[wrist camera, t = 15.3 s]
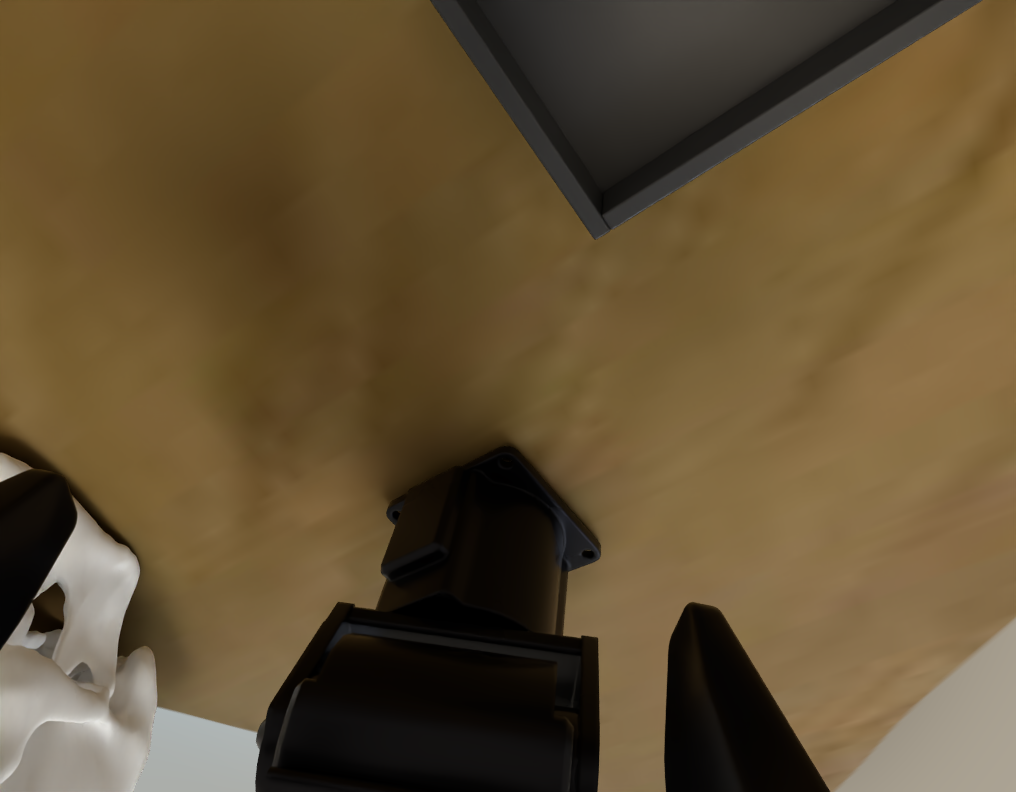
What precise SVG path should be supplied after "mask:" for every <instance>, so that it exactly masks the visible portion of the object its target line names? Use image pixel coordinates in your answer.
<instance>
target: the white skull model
mask: <svg viewBox="0 0 1016 792" xmlns="http://www.w3.org/2000/svg"><path fill="white" fill-rule="evenodd" d="M30 469H33V468H31V467H30V466H28V465H27V464H26V463H24V462H22V461H20V460H17V459H15V458H13V457H11V456H9V455H7V454H4V453H0V482H1V481H4V480H6V479H8V478H10V477H13V476H15V475H17V474H19V473H21V472H24V471H26V470H30ZM72 498H73V500H74V503H75V506H76V509H77V513H78V518H77V523H76V526H75V529H74V531H73V533H72V534H71V536H70V538H69V539H68V541H67V543H66V545H65V546H64V548H63V550H62V552H61V553H60V555H59V557H58V558H57V560H56V562H55V564H54V565H53V567H52V569H51V571H50V572H49V574H48V576H47V577H46V579H45V581H44V583H43V584H42V586H41V588H40V590H39V591H38V593H37V595H36V596H35V598H37V597H38V596H39V595H40V593H43V592H44V591H46V590H47V589H48V588H49V587H50V586H52V585H53V584H54V583H57V584H58V585H59V586H60V587H61V589H62V590H63V592H64V593H65V603H64V607H63V612H64V627H63V630H61V629H57V630H53V631H51V632H45V633H40V632H38V631H28V630H29V628H30V625H31V623H32V620H33V617H34V614H35V612H34V607H33V604H32V603H31V605H30V607H29V609H28V610H27V612H26V613H25V615H24V617H23V618H22V620H21V621H20V623H19V624H18V626H17V627H16V629H15V630H14V632H13V633H12V635H11V636H10V638H9V639H8V641H7V642H6V643H5V645H4V646H3V647H2V649H1V650H0V792H133V791H134V788H135V786H136V784H137V781H138V779H139V777H140V775H141V773H142V770H143V768H144V766H145V763H146V761H147V758H148V755H149V751H150V744H151V733H152V727H153V722H154V715H155V711H156V708H157V685H156V666H155V659H154V654H153V652H152V650H151V649H150V648H148V647H147V646H142V647H140V648H138V649H136V650H134V651H133V652H132V653H131V654H130V655H129V657H124V656H119V657H117V651H118V641H119V635H120V630H121V626H122V623H123V618H124V615H125V612H126V609H127V607H128V604H129V602H130V599H131V597H132V594H133V592H134V590H135V588H136V585H137V582H138V579H139V575H140V567H139V563H138V560H137V557H136V555H134V554H133V553H132V552H131V551H130V549H129V548H128V547H127V546H125V545H123V544H119V543H117V542H116V541H115V540H114V539H113V538H112V537H111V536H110V535H108V534H107V533H105V532H104V531H103V530H102V529H101V528H100V526H99V525H98V524H97V522H96V521H95V520H94V519H93V518H92V517H91V516H90V515H89V513H88V512H87V511H86V510H85V509H84V508H83V507H82V506H81V504H80V503H79V502H78V501H77V500H76V499H75V498H74V497H73V496H72ZM35 598H34V599H35Z"/></svg>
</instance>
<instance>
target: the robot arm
mask: <svg viewBox="0 0 1016 792" xmlns="http://www.w3.org/2000/svg"><path fill="white" fill-rule="evenodd" d="M503 458H508V459H510V460H512V461H509V462H508V461H504V460H503ZM398 511H400V512H401V513H400V512H398ZM386 515H387V517H388V519H389V520H390V521H391V522H392V523H393V524H394V525H395V529H394V532H393V534H392V537H391V540H390V542H389V545H388V548H387V550H386V553H385V556H384V558H383V561H382V564H381V573H382V574H383V575H384V576H385V577H386V578H387V579H386V581H385V584H384V587H383V590H382V593H381V596H380V598H379V601H378V604H377V607H376V610H373V609H366V608H359V607H355V604H350V603H343V602H338V603H337V604H336V606H335V607H334V609H333V610H332V612H331V613H330V615H329V616H328V618H327V619H326V621H324V622H323V623H322V625H321V626H320V628H319V629H318V631H317V633H316V634H315V636H314V637H313V639H312V640H311V642H310V643H309V645H308V646H307V648H306V649H305V651H304V653H303V654H302V656H301V657H300V659H299V660H298V662H297V663H296V665H295V666H294V668H293V669H292V671H291V673H290V674H289V676H288V677H287V679H286V680H285V682H284V683H283V685H282V686H281V688H280V689H279V691H278V693H277V694H276V696H275V697H274V699H273V700H272V702H271V704H270V706H269V708H268V711H267V716H266V719H265V720H264V721H263V722H262V723H261V725H260V727H259V730H258V733H257V738H256V742H257V745H258V747H259V749H260V752H259V757H258V763H257V771H256V781H255V784H256V792H597V790H598V773H599V747H600V723H599V664H598V638H597V637H589V636H581V638H576V637H569V636H563V627H564V615H565V603H566V591H567V579H568V572H569V571H571V570H574V569H577V568H579V567H582V566H585V565H587V564H590V563H593V562H595V561H597V560H599V558H600V555H601V545H600V543H599V542H598V541H597V540H596V539H595V537H594V536H593V535H592V534H591V533H590V532H589V531H588V529H587V528H586V527H585V526H584V525H583V524H582V523H581V522H580V520H579V519H578V518H577V517H576V516H575V515H574V514H573V512H572V511H571V510H570V509H569V508H568V507H567V506H566V505H565V503H564V502H563V501H562V500H561V499H560V498H559V497H558V495H557V494H556V493H555V492H554V491H553V490H552V489H551V487H550V486H549V485H548V484H547V483H546V482H545V481H544V480H543V478H542V477H541V476H540V475H539V474H538V473H537V472H536V470H535V469H534V468H533V467H532V466H531V465H530V464H529V463H528V461H527V460H526V459H525V458H524V457H523V456H522V455H521V453H520V452H519V451H518V450H516V449H515V448H513V447H510V446H503V447H499V448H497V449H495V450H493V451H491V452H489V453H487V454H485V455H483V456H481V457H479V458H477V459H475V460H473V461H471V462H469V463H467V464H465V465H463V466H455V467H453V468H451V469H449V470H447V471H445V472H443V473H441V474H439V475H437V476H435V477H433V478H431V479H429V480H427V481H425V482H423V483H421V484H419V485H417V486H415V487H413V488H411V489H410V490H409V491H408V493H407V494H405V495H403V496H401V497H399V498H397V499H395V500H393V501H392V502H390V504H389V507H388V509H387V512H386ZM77 518H78V513H77V509H76V506H75V503H74V500H73V498H72V495H71V492H70V489H69V486H68V483H67V480H66V478H65V477H64V476H63V475H62V474H59V473H56V472H51V471H46V470H41V469H30V470H26V471H24V472H21V473H19V474H17V475H15V476H13V477H10V478H8V479H6V480H4V481H1V482H0V650H1V649H2V647H3V646H4V645H5V643H6V642H7V641H8V639H9V638H10V636H11V635H12V633H13V632H14V630H15V629H16V627H17V626H18V624H19V623H20V621H21V620H22V618H23V617H24V615H25V613H26V612H27V610H28V609H29V607H30V605H31V603H32V602H33V600H34V598H35V596H36V595H37V593H38V591H39V590H40V588H41V586H42V584H43V583H44V581H45V579H46V577H47V576H48V574H49V572H50V571H51V569H52V567H53V565H54V564H55V562H56V560H57V558H58V557H59V555H60V553H61V552H62V550H63V548H64V546H65V545H66V543H67V541H68V539H69V538H70V536H71V534H72V533H73V531H74V529H75V526H76V523H77ZM586 550H591V551H586ZM664 763H665V783H666V792H830V791H829V789H828V787H827V786H826V784H825V782H824V781H823V779H822V777H821V776H820V774H819V772H818V771H817V769H816V767H815V766H814V764H813V763H812V761H811V759H810V758H809V756H808V754H807V753H806V751H805V749H804V748H803V746H802V744H801V743H800V741H799V739H798V738H797V736H796V734H795V733H794V731H793V729H792V728H791V726H790V725H789V723H788V721H787V720H786V718H785V716H784V715H783V713H782V711H781V710H780V708H779V706H778V705H777V703H776V701H775V700H774V698H773V696H772V695H771V693H770V691H769V690H768V688H767V687H766V685H765V683H764V682H763V680H762V678H761V677H760V675H759V673H758V672H757V670H756V668H755V667H754V665H753V663H752V662H751V660H750V658H749V657H748V655H747V653H746V652H745V650H744V649H743V647H742V645H741V644H740V642H739V640H738V639H737V637H736V635H735V634H734V632H733V630H732V629H731V627H730V625H729V624H728V622H727V620H726V619H725V617H724V615H723V614H722V612H721V611H720V610H719V609H718V608H716V607H714V606H710V605H705V604H700V603H695V602H691V603H689V604H687V605H686V607H685V608H684V610H683V613H682V615H681V617H680V619H679V621H678V623H677V625H676V627H675V629H674V631H673V633H672V636H671V639H670V643H669V650H668V673H667V698H666V723H665V753H664Z"/></svg>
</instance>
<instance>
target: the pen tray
mask: <svg viewBox="0 0 1016 792" xmlns="http://www.w3.org/2000/svg"><path fill="white" fill-rule="evenodd" d="M430 1H431V2H432V4H433V5H434V7H435V8H436V10H437V11H438V13H439V14H440V16H441V17H442V18H443V20H444V21H445V23H446V24H447V26H448V27H449V29H450V30H451V32H452V33H453V34H454V36H455V37H456V39H457V40H458V42H459V43H460V45H461V46H462V48H463V49H464V51H465V52H466V53H467V55H468V56H469V58H470V59H471V61H472V62H473V64H474V65H475V67H476V68H477V69H478V71H479V72H480V74H481V75H482V77H483V78H484V80H485V81H486V83H487V84H488V85H489V87H490V88H491V90H492V91H493V93H494V94H495V96H496V97H497V99H498V100H499V101H500V103H501V104H502V106H503V107H504V109H505V110H506V112H507V113H508V115H509V116H510V117H511V119H512V120H513V122H514V123H515V125H516V126H517V128H518V129H519V131H520V132H521V133H522V135H523V136H524V138H525V139H526V141H527V142H528V144H529V145H530V147H531V148H532V150H533V151H534V152H535V154H536V155H537V157H538V158H539V160H540V161H541V163H542V164H543V166H544V167H545V168H546V170H547V171H548V173H549V174H550V176H551V177H552V179H553V180H554V182H555V183H556V184H557V186H558V187H559V189H560V190H561V192H562V193H563V195H564V196H565V198H566V199H567V200H568V202H569V203H570V205H571V206H572V208H573V209H574V211H575V212H576V214H577V215H578V216H579V218H580V219H581V221H582V222H583V224H584V225H585V227H586V228H587V230H588V231H589V232H590V234H591V235H592V237H593V238H594V239H595V240H596V239H598V238H600V237H602V236H603V235H605V234H606V233H608V232H609V231H610V229H614V228H616V227H618V226H619V225H621V224H623V223H624V222H626V221H627V220H629V219H631V218H632V217H634V216H635V215H637V214H639V213H640V212H642V211H643V210H645V209H647V208H648V207H650V206H652V205H653V204H655V203H656V202H658V201H660V200H661V199H663V198H664V197H666V196H668V195H669V194H671V193H673V192H674V191H676V190H677V189H679V188H681V187H682V186H684V185H685V184H687V183H689V182H690V181H692V180H693V179H695V178H697V177H698V176H700V175H702V174H703V173H705V172H706V171H708V170H710V169H711V168H713V167H714V166H716V165H718V164H719V163H721V162H723V161H724V160H726V159H727V158H729V157H731V156H732V155H734V154H735V153H737V152H739V151H740V150H742V149H743V148H745V147H747V146H748V145H750V144H752V143H753V142H755V141H756V140H758V139H760V138H761V137H763V136H764V135H766V134H768V133H769V132H771V131H773V130H774V129H776V128H777V127H779V126H781V125H782V124H784V123H785V122H787V121H789V120H790V119H792V118H793V117H795V116H797V115H798V114H800V113H802V112H803V111H805V110H806V109H808V108H810V107H811V106H813V105H814V104H816V103H818V102H819V101H821V100H823V99H824V98H826V97H827V96H829V95H831V94H832V93H834V92H835V91H837V90H839V89H840V88H842V87H843V86H845V85H847V84H848V83H850V82H852V81H853V80H855V79H856V78H858V77H860V76H861V75H863V74H864V73H866V72H868V71H869V70H871V69H873V68H874V67H876V66H877V65H879V64H881V63H882V62H884V61H885V60H887V59H889V58H890V57H892V56H893V55H895V54H897V53H898V52H900V51H902V50H903V49H905V48H906V47H908V46H910V45H911V44H913V43H914V42H916V41H918V40H919V39H921V38H922V37H924V36H926V35H927V34H929V33H931V32H932V31H934V30H935V29H937V28H939V27H940V26H942V25H943V24H945V23H947V22H948V21H950V20H952V19H953V18H955V17H956V16H958V15H960V14H961V13H963V12H964V11H966V10H968V9H969V8H971V7H972V6H974V5H976V4H977V3H979V2H981V1H982V0H430Z"/></svg>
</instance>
